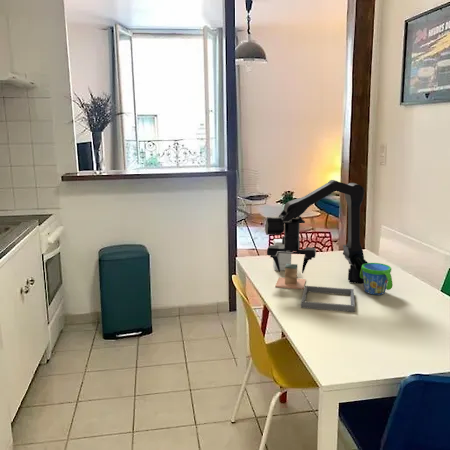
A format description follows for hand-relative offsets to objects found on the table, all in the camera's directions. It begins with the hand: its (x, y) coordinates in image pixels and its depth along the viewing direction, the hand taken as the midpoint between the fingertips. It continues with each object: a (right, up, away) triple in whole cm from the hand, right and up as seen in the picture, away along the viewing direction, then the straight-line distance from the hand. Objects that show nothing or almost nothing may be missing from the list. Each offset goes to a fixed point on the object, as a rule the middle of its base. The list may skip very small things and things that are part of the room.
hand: (290, 272), depth 194 cm
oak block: (0, -4, +1) cm, 4 cm away
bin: (+11, -8, -18) cm, 23 cm away
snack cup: (+31, -7, -9) cm, 33 cm away
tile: (0, -5, +1) cm, 5 cm away
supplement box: (-1, -1, +22) cm, 22 cm away
